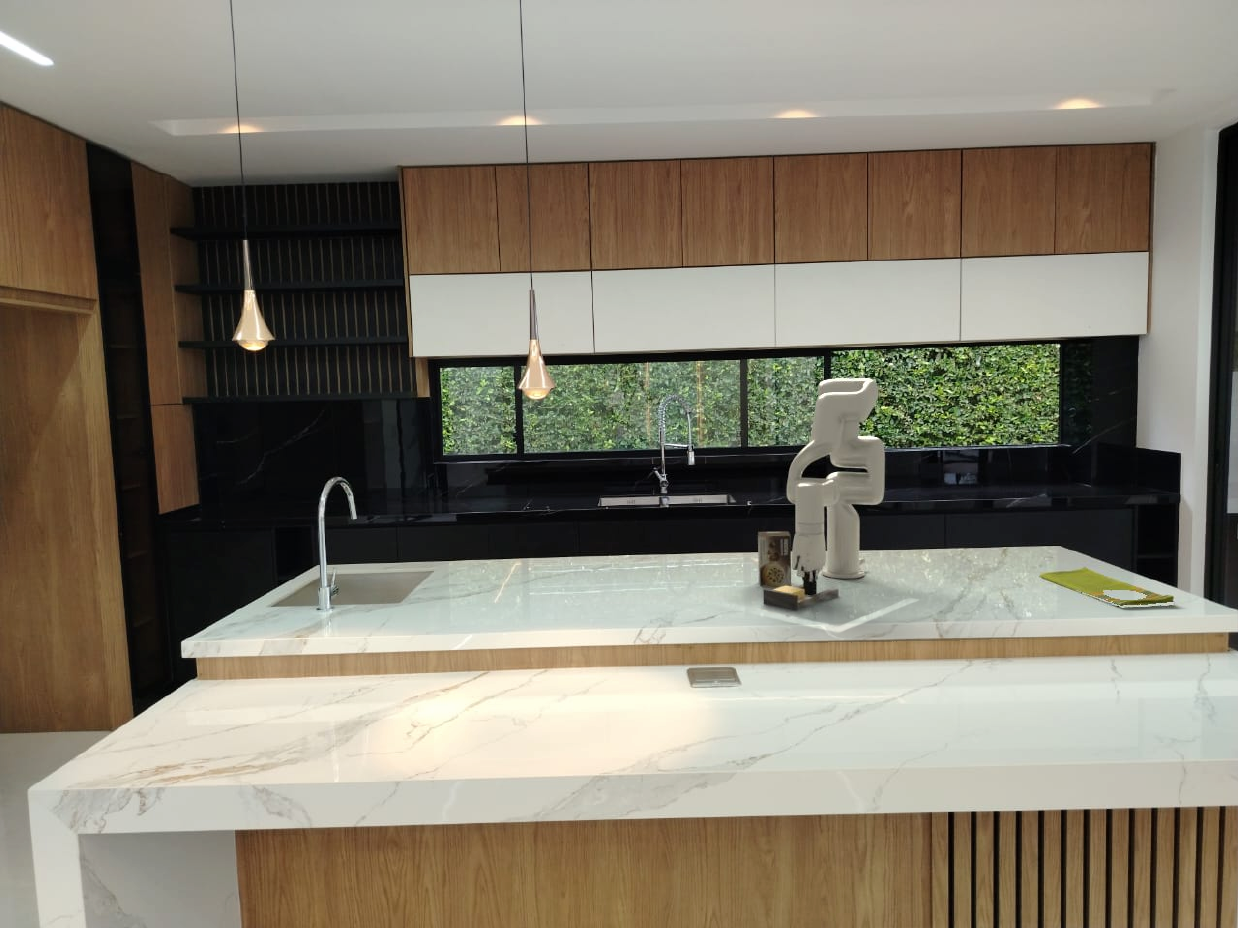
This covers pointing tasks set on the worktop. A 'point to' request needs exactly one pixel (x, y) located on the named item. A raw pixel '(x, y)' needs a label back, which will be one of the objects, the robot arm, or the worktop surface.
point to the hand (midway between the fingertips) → (809, 594)
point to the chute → (796, 598)
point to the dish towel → (1102, 586)
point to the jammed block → (791, 591)
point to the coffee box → (774, 558)
